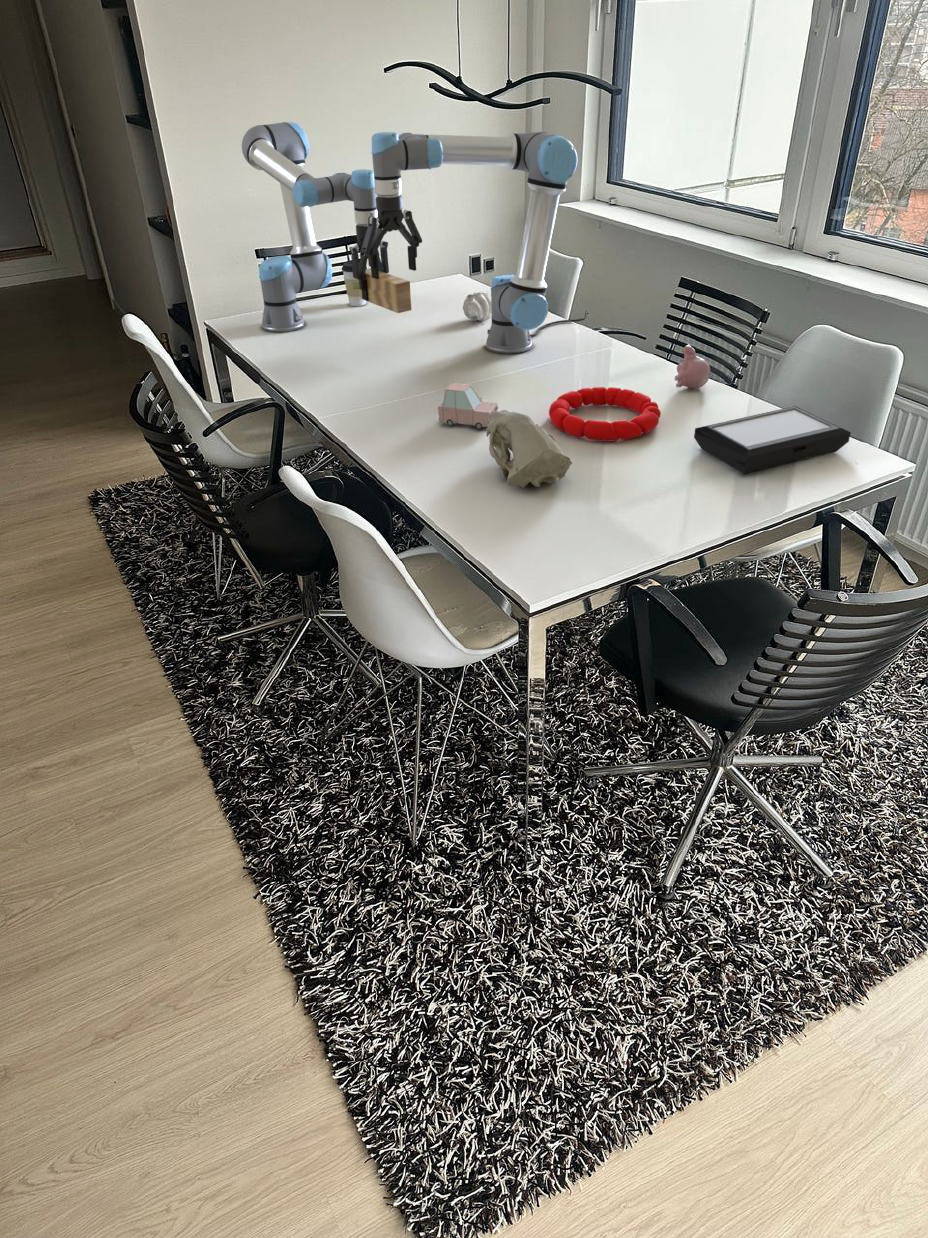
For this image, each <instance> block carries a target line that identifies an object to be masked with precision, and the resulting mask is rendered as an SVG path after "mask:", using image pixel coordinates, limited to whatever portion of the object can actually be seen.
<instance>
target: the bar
mask: <svg viewBox="0 0 928 1238" xmlns="http://www.w3.org/2000/svg"><path fill="white" fill-rule="evenodd" d="M365 280H367V288H368V301H366V300H365V301H366V302H367V303H371V304H373V305H376V306H378V307H381V308H383V309H385V310H389V311H390V312H393V313H395V314H401V313H404V312H406V313H407V312H409V311H412V299H411V281H410V280H408V279H405V278H401V277H398V276H395V275H393V274H390V273H384V272H381V271H379V279H375V278H372V275H371V267H370V268H367V269H366V273H365ZM360 297H361V299H362V290H360ZM363 300H364V299H363Z"/></svg>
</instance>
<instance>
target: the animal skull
mask: <svg viewBox="0 0 928 1238" xmlns="http://www.w3.org/2000/svg"><path fill="white" fill-rule="evenodd" d="M485 436H486V438H487V437H489V438H488V440H489V444H488V445H489V446H488V450H489V454H490V456H491V457H492V458H493V459H494V460H495V462H496V464H497V466H499V468H500V470H501V471H502V472H501V478H502V479H507V480H506V484H507V486H517V487H518V486H519V488H523V489H524V488H526V486H527V485H529V483H531V485H533V486H534V487H536V488H540V485H541V484H542V482H544V483H549V484H550V485H553V484H555V483H556V482H557V480H561V479H563V478H565V476H566V474H567V472H568V471H569V469H570V467H571V466H572V464H573V462H572V461H571V458H570V457H568V456H567V455H565V453H564V451H562V449H561V448H560V446H559V444H557V443H556V439H555V438H554V436H553V435H551V434H550V433H548V432H547V431H546V430H545V429H544V428H542V427H541V426H539V425H538V424H537V423H536V424H535V422H534V421H533V419H532V418H531V417H530V416H529V415H527V414H524V413H519V412H515V411H509V410H507V409H502V410H500V411H499V410H497V411H496V412H492V413H491V414H490V422H488V423H487V427H486V435H485ZM511 453H512V454H511ZM511 455H512V457H513V458H512V460H511ZM507 474H508V475H507Z"/></svg>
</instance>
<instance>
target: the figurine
mask: <svg viewBox="0 0 928 1238" xmlns="http://www.w3.org/2000/svg"><path fill="white" fill-rule="evenodd" d="M682 354H683V358H684V359H683V361H682V362H679V363H678V364H677V365H676V372H677V375H675V376H674V381H675V382H676V381H677V382H676V384H675V386H676V388H681V387H686V388H688V389H693V390H694V389H695V390H696V389H700V388H703V387H704V386H705V385H706V384H707V383H708V382H709V379H710V377H711V367H710V364H709V362H708V361H706V359H704V358H702V357H700V356H697V353H696V350H695V349H694V347H692V345H690V344H686V345H685V346H684V347H683V348H682Z"/></svg>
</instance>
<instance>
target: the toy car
mask: <svg viewBox="0 0 928 1238" xmlns="http://www.w3.org/2000/svg"><path fill="white" fill-rule="evenodd" d="M498 409H499V404H498V403H497V402H490V401H489V402H487V401H483V397H481V396H480V395H479V394H478V393H477V391H476V390H475V389H474V386H472V384H469V383H459V382H451V383H450V384H449V385H448V386H447V387H446V388H445V389H444V394H443V399H442V403H440V404H439V405H438V406H437V413H438V421H439V422H443V423H446V425H447V426H448V427H452V426H454V425H455V424H461V425H469V426H473V427H475V429H476V430H479V431H480V430H481V429H483V428H485V427H486V428H487V423H488V422H490V414H491V413H492V412H496V411H499V410H498Z"/></svg>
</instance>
